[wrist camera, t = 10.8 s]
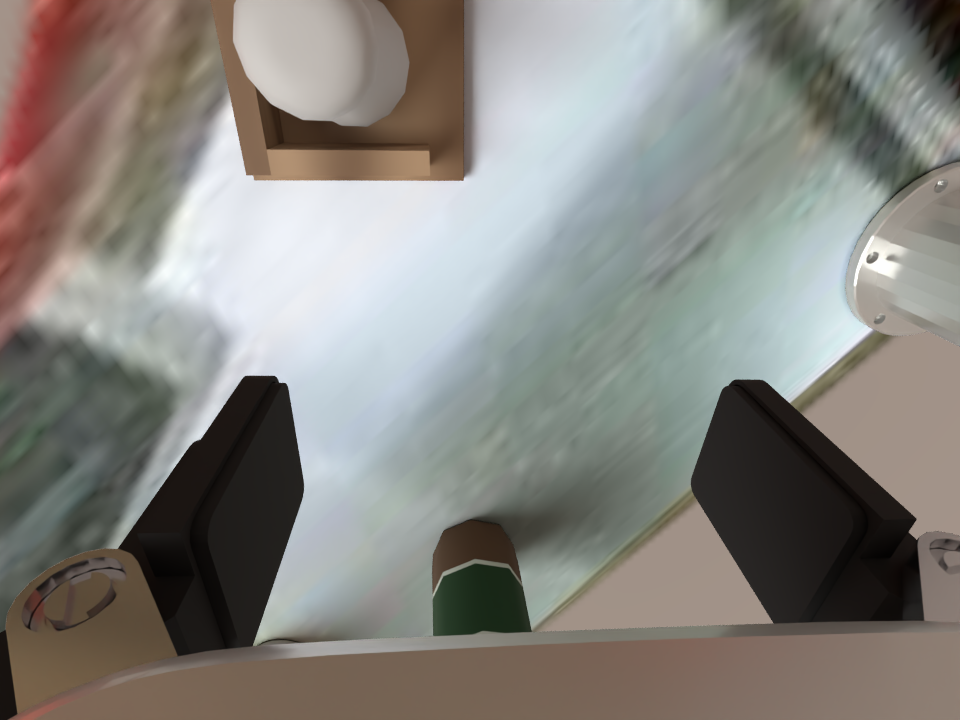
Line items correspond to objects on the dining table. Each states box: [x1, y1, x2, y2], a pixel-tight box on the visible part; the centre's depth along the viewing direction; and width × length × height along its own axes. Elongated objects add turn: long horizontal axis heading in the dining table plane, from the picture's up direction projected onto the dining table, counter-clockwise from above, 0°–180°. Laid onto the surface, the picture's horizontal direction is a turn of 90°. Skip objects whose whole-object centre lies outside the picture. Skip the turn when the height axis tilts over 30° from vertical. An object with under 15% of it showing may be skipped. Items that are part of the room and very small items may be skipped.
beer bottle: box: [432, 520, 532, 636], centre depth 36 cm, size 8×8×24 cm
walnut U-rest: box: [211, 0, 464, 181], centre depth 24 cm, size 12×12×4 cm
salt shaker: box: [233, 0, 409, 127], centre depth 20 cm, size 6×6×13 cm
